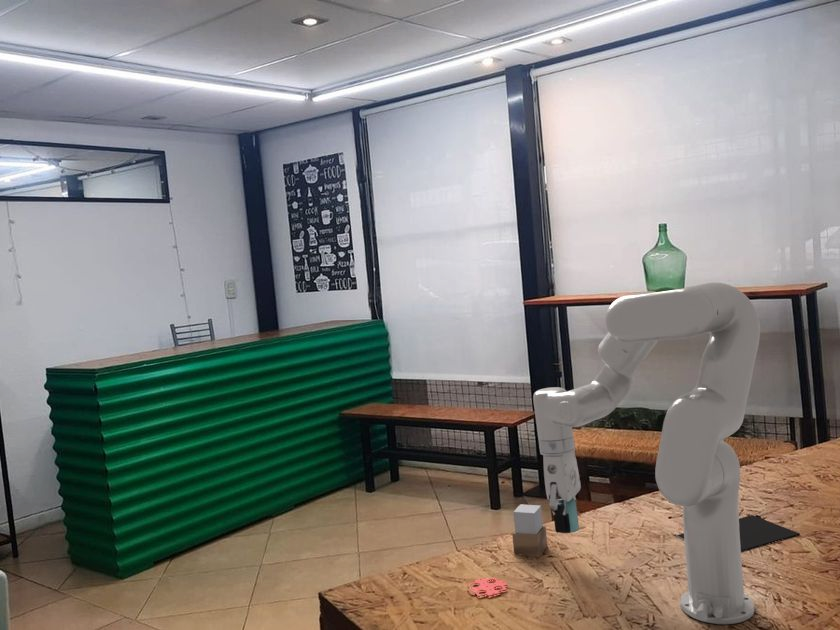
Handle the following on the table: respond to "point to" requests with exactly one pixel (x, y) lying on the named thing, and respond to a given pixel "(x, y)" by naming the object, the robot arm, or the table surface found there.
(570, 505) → the teal cylinder
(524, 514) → the grey top block
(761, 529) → the black flat plate
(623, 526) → the table surface
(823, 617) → the table surface
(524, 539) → the walnut base block
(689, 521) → the robot arm
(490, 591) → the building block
